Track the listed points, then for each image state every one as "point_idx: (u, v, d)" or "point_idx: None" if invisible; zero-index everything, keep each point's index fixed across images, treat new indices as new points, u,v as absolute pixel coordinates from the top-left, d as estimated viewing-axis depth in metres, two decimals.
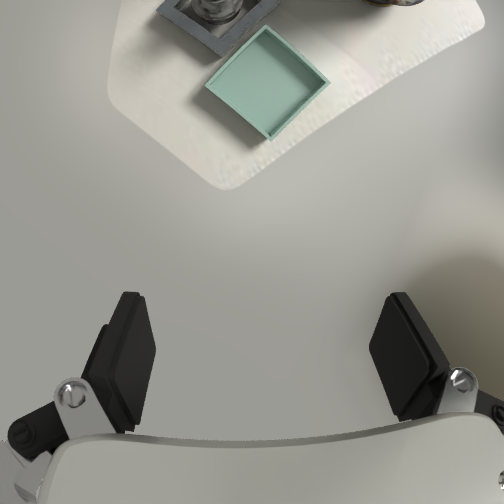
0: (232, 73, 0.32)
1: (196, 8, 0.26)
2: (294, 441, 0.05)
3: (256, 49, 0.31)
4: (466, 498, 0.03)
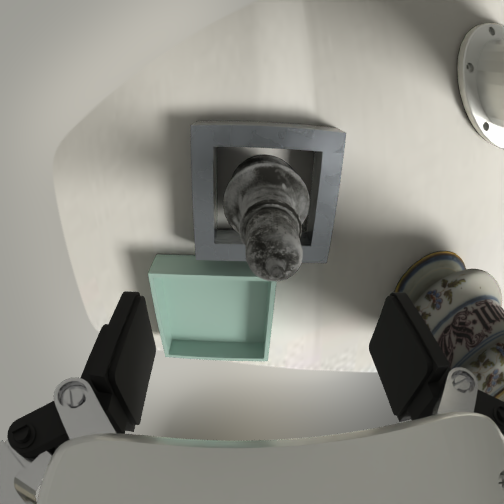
0: None
1: (231, 191, 0.20)
2: (294, 441, 0.05)
3: None
4: (466, 498, 0.03)
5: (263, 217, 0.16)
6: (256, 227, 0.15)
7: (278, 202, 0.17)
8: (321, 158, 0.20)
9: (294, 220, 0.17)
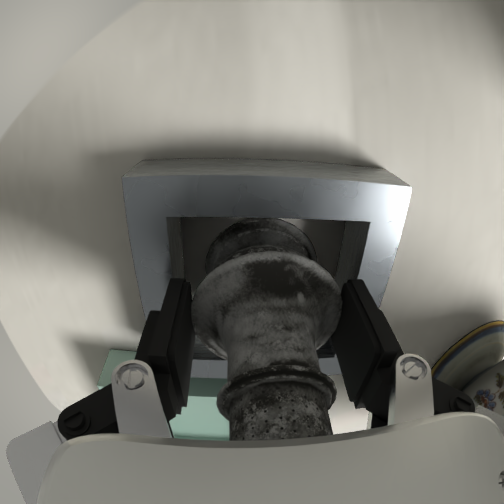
0: None
1: (202, 302, 0.11)
2: (294, 441, 0.05)
3: None
4: (466, 498, 0.03)
5: (265, 419, 0.06)
6: None
7: (296, 371, 0.07)
8: (365, 232, 0.11)
9: (325, 394, 0.08)
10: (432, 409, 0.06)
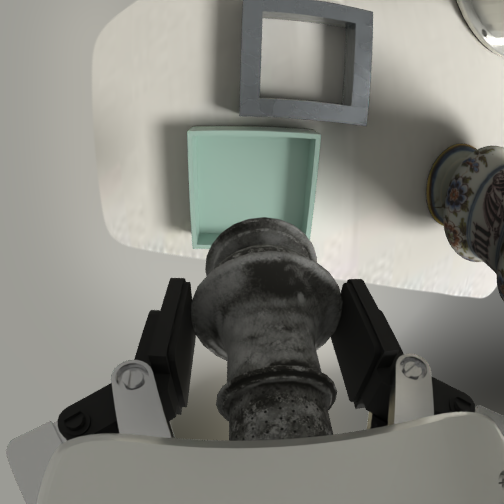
0: (230, 142, 0.25)
1: (202, 302, 0.11)
2: (294, 441, 0.05)
3: (280, 144, 0.25)
4: (466, 498, 0.03)
5: (265, 420, 0.06)
6: None
7: (296, 371, 0.07)
8: (354, 29, 0.19)
9: (325, 394, 0.08)
10: (432, 409, 0.06)
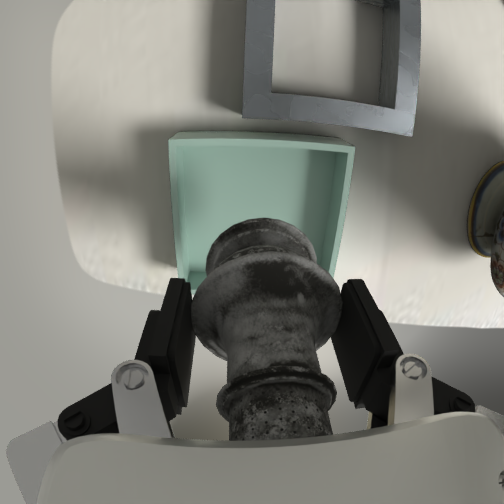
0: (229, 154, 0.18)
1: (202, 302, 0.11)
2: (294, 441, 0.05)
3: (297, 157, 0.19)
4: (466, 498, 0.03)
5: (265, 421, 0.06)
6: None
7: (296, 372, 0.07)
8: (398, 8, 0.12)
9: (325, 395, 0.08)
10: (432, 409, 0.06)
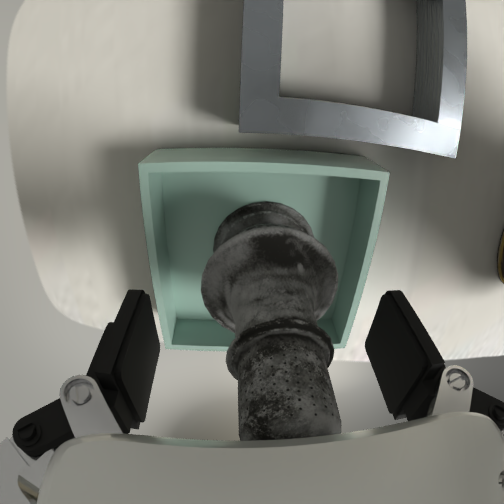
0: (221, 178, 0.14)
1: (212, 274, 0.12)
2: (294, 441, 0.05)
3: (312, 183, 0.14)
4: (466, 498, 0.03)
5: (271, 365, 0.08)
6: (258, 393, 0.07)
7: (297, 324, 0.09)
8: None
9: (323, 349, 0.09)
10: None
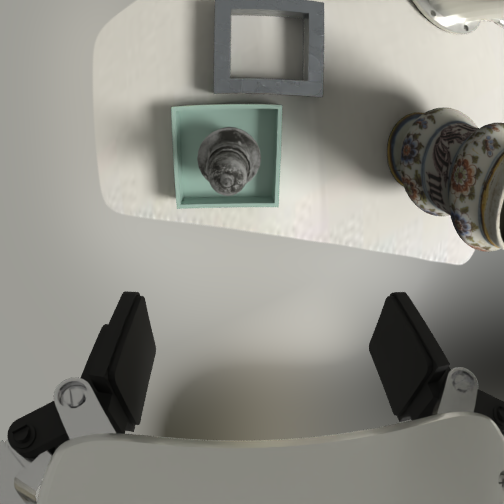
0: (207, 117, 0.29)
1: (202, 149, 0.27)
2: (294, 441, 0.05)
3: (250, 117, 0.29)
4: (466, 498, 0.03)
5: (220, 155, 0.22)
6: (215, 160, 0.22)
7: (232, 147, 0.23)
8: (308, 18, 0.23)
9: (244, 159, 0.24)
10: None
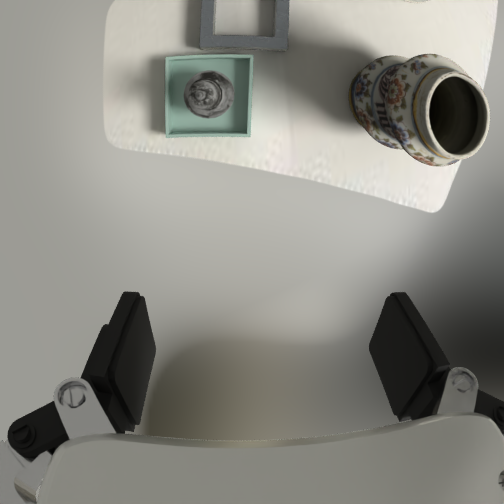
0: (194, 66, 0.33)
1: (187, 87, 0.31)
2: (294, 441, 0.05)
3: (229, 66, 0.33)
4: (466, 498, 0.03)
5: None
6: None
7: (208, 79, 0.27)
8: None
9: (217, 87, 0.28)
10: None
